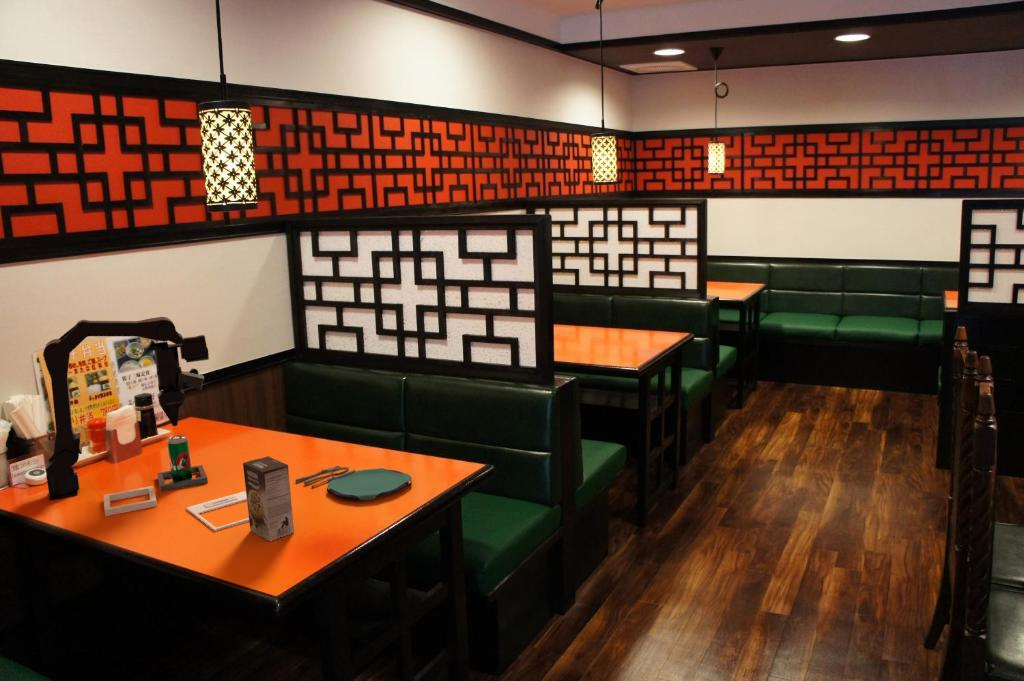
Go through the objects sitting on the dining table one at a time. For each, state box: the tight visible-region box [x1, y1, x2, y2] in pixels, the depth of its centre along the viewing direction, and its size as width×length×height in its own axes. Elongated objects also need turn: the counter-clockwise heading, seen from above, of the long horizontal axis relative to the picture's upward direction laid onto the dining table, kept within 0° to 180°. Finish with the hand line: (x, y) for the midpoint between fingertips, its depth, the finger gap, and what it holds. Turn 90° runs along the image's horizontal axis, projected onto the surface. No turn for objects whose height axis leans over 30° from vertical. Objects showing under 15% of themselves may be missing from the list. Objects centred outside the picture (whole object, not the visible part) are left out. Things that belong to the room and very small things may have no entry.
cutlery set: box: [295, 465, 413, 501], centre depth 211 cm, size 20×30×2 cm, turn 52°
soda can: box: [166, 434, 193, 483], centre depth 217 cm, size 5×5×12 cm
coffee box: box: [242, 456, 295, 542], centre depth 182 cm, size 9×6×16 cm
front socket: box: [103, 485, 158, 517], centre depth 204 cm, size 11×11×2 cm
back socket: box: [156, 464, 209, 493], centre depth 218 cm, size 11×11×2 cm
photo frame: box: [185, 490, 249, 532], centre depth 196 cm, size 15×1×18 cm
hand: (174, 421), depth 222 cm, fingers open, 9 cm apart
